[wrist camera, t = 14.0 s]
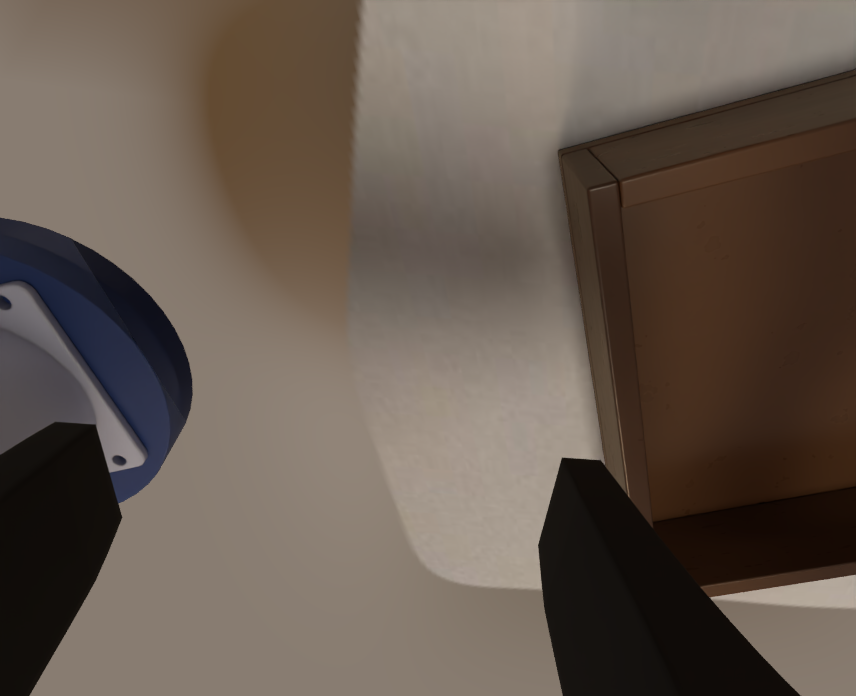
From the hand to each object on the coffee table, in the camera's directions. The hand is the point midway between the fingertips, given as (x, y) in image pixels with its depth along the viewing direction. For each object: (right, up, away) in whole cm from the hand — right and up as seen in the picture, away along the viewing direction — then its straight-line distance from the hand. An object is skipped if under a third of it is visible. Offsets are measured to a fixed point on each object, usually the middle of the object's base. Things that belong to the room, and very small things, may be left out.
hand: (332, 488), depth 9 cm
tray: (+13, +3, +9) cm, 16 cm away
